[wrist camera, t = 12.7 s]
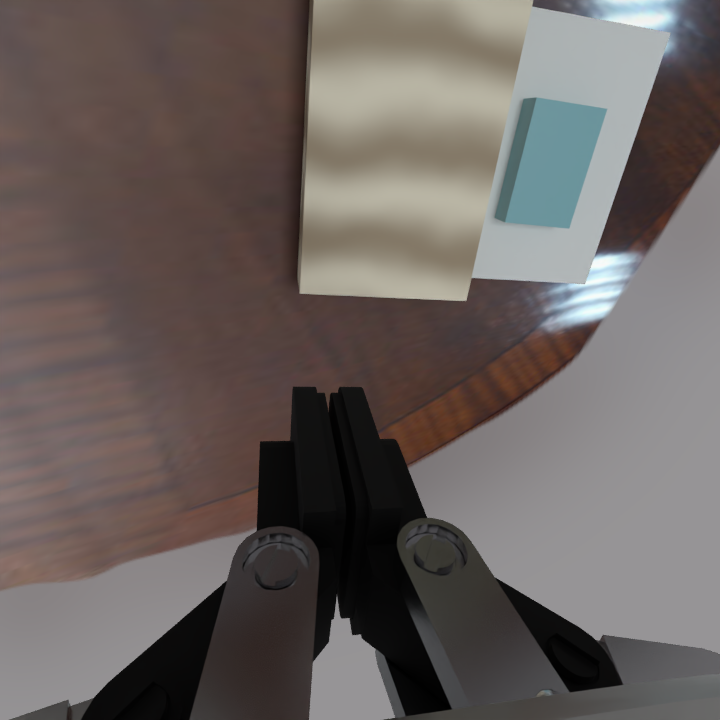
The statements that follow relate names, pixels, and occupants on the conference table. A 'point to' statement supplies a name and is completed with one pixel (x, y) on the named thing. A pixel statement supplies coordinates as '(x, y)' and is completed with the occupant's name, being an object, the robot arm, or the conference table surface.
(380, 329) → the conference table surface
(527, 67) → the mat
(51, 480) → the conference table surface
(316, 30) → the beige flat block
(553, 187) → the blue rectangular block
